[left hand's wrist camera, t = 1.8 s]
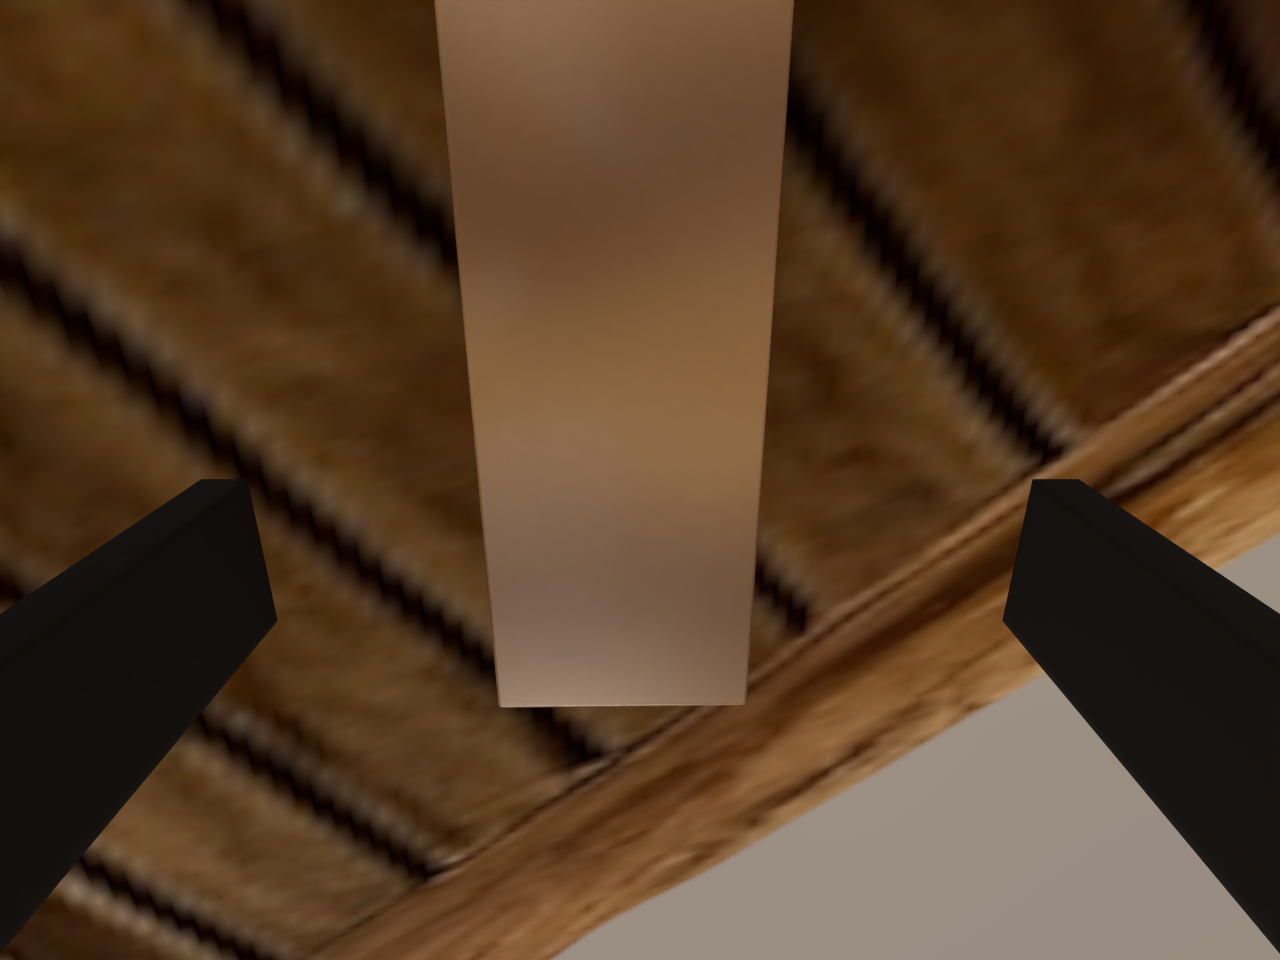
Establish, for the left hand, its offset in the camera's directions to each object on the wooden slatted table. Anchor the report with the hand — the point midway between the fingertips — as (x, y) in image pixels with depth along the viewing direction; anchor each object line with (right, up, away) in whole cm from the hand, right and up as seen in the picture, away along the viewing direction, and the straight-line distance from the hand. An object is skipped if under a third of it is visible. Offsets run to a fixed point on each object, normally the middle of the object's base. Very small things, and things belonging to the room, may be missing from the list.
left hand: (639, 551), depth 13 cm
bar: (0, +15, +3) cm, 16 cm away
